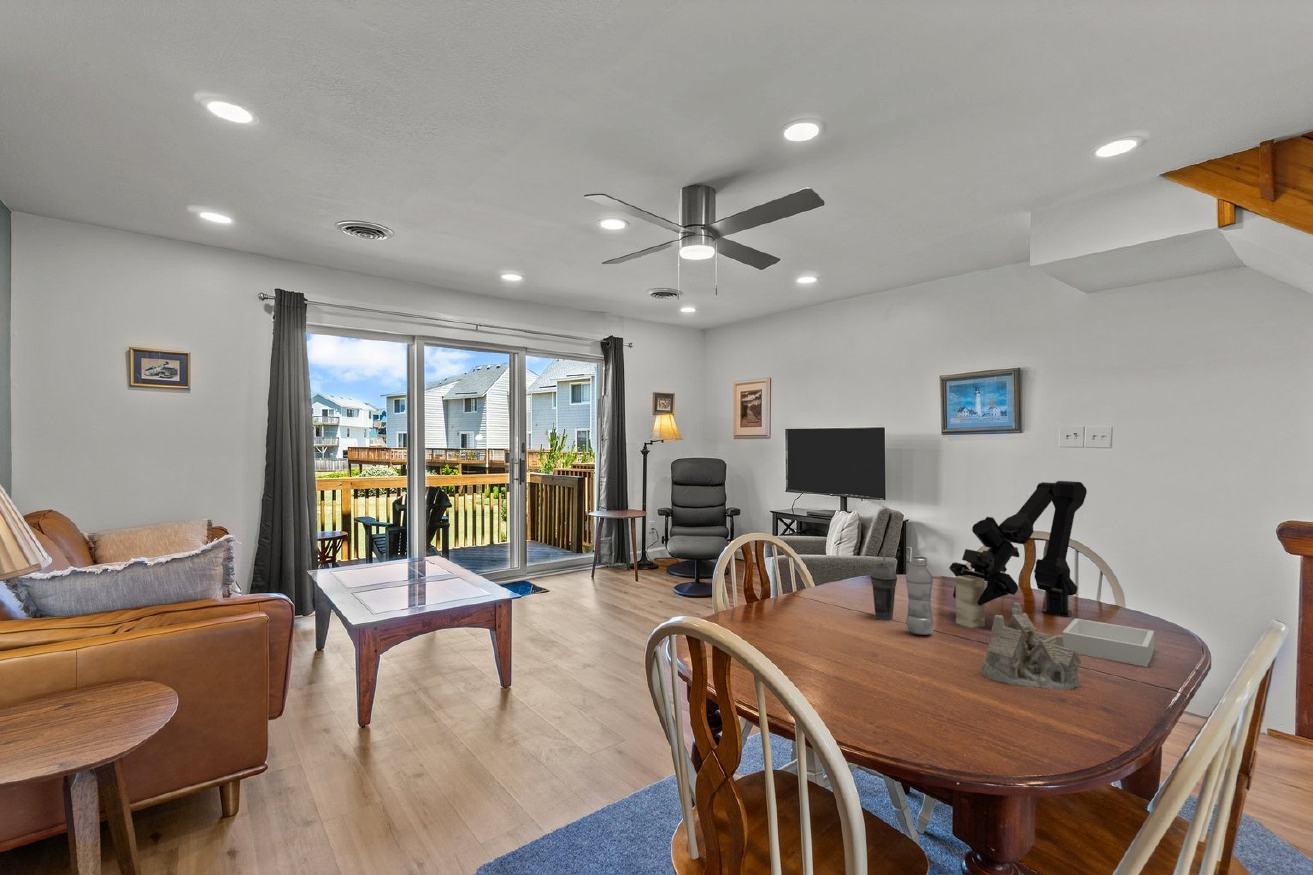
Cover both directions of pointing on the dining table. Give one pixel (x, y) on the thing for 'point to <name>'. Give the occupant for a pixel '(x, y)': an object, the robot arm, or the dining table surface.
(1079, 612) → the dining table surface
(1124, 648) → the box
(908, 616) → the plastic bottle
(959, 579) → the birch block
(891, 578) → the beverage cup
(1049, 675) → the ceramic cottage
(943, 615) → the dining table surface
